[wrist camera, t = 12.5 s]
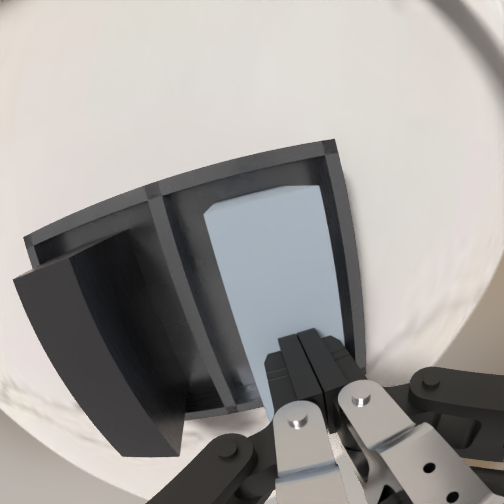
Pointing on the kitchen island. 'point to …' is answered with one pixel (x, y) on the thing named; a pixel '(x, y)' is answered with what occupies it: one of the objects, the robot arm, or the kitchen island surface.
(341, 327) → the panel
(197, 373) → the dark grey tray
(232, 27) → the kitchen island surface
